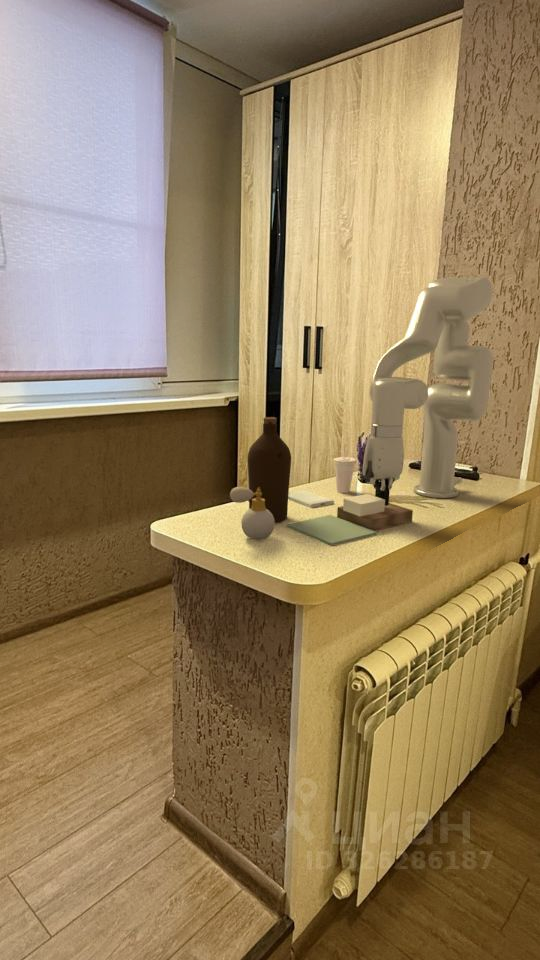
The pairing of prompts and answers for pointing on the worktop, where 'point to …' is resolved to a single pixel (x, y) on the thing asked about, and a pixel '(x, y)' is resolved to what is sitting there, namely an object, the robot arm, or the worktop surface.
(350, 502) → the cream rectangular block
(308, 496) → the hard drive
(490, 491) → the worktop surface
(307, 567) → the worktop surface
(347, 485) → the smoothie
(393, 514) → the wooden block
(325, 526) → the mat
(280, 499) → the olive oil
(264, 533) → the perfume bottle
